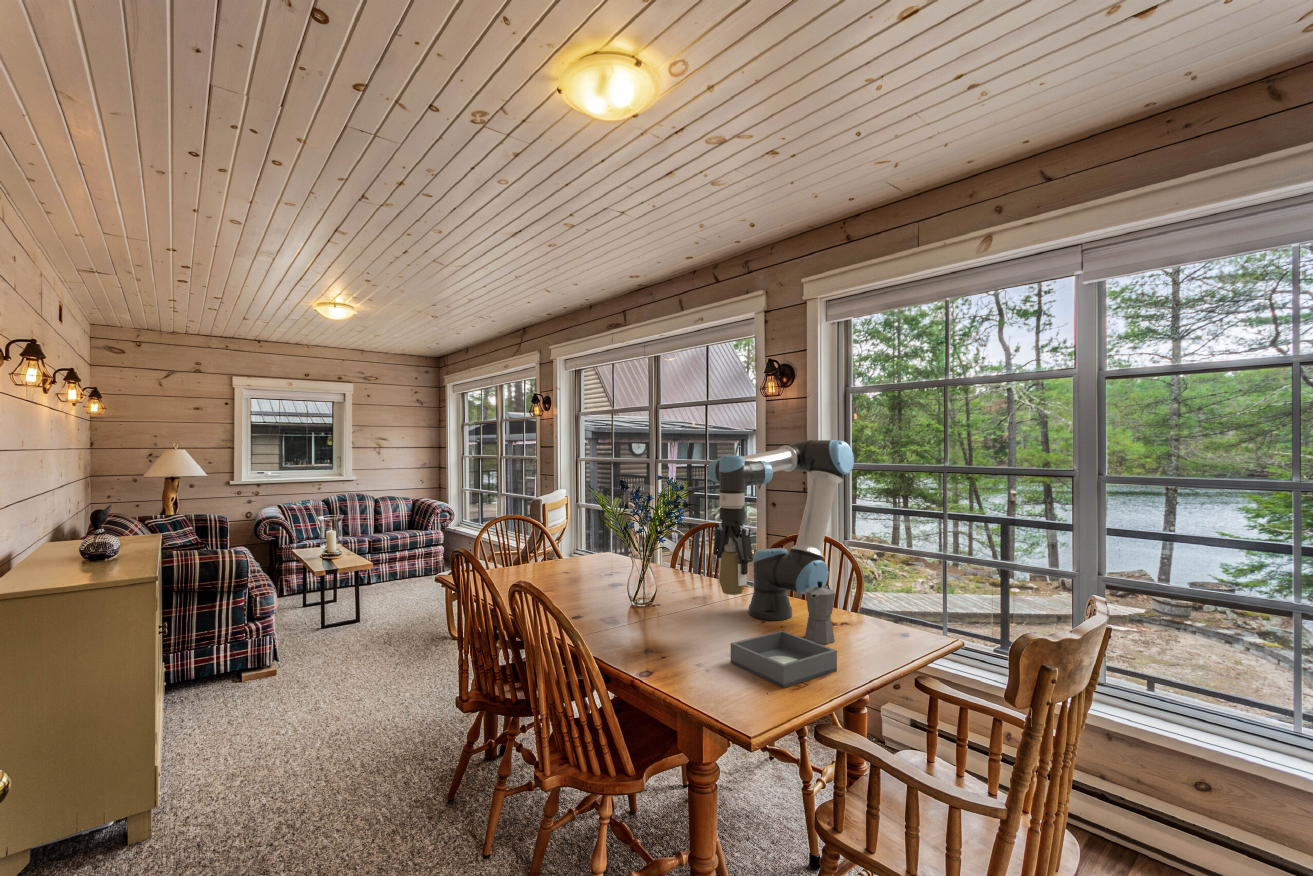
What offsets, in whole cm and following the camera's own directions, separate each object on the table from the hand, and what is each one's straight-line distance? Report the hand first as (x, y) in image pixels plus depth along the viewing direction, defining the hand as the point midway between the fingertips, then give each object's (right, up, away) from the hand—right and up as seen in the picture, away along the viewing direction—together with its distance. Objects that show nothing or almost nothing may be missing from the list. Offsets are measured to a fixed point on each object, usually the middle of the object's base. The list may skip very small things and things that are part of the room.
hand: (732, 582), depth 179 cm
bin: (+11, -19, -18) cm, 28 cm away
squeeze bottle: (0, -4, 0) cm, 4 cm away
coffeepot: (+28, -19, +6) cm, 35 cm away
